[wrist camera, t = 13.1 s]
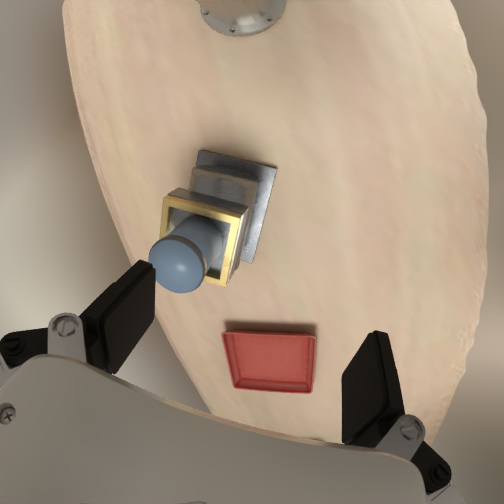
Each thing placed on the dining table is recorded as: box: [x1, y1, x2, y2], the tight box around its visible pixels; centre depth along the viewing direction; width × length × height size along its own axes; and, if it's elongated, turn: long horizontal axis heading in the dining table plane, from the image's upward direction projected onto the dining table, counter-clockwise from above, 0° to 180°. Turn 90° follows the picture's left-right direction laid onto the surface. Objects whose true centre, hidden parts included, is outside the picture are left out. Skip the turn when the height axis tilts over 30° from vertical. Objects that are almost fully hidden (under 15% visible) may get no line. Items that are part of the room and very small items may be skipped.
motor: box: [159, 150, 277, 287], centre depth 39 cm, size 16×12×14 cm
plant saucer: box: [221, 330, 317, 394], centre depth 57 cm, size 18×18×3 cm
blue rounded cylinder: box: [149, 217, 222, 293], centre depth 31 cm, size 6×6×7 cm
